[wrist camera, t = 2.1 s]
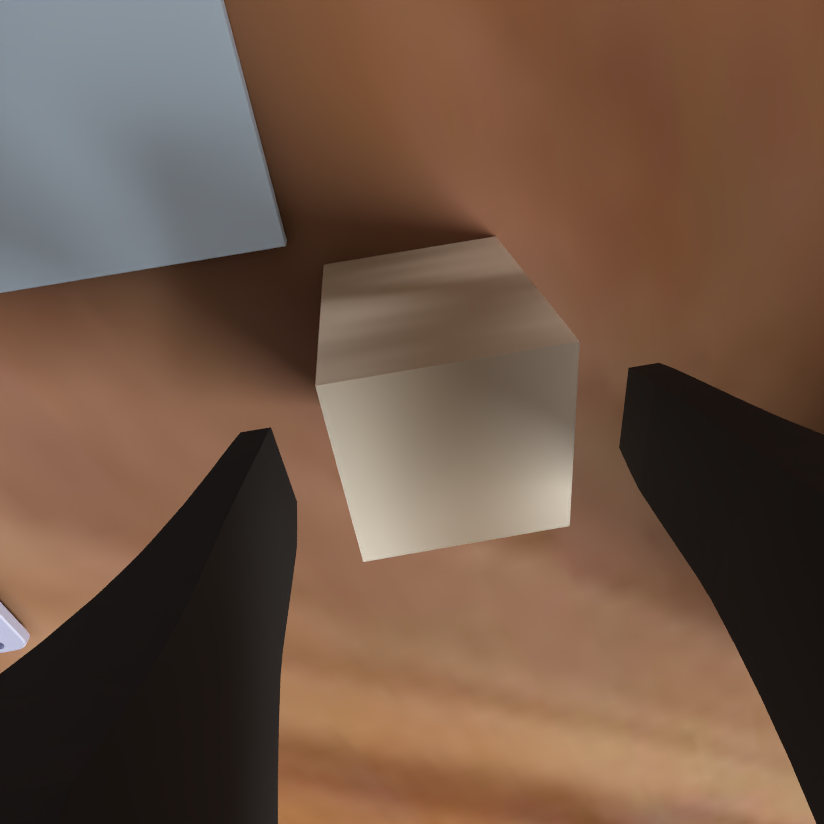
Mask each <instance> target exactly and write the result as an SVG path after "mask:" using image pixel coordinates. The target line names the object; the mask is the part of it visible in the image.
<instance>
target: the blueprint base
mask: <svg viewBox="0 0 824 824" xmlns="http://www.w3.org/2000/svg"><path fill="white" fill-rule="evenodd" d="M286 243H287V239H286V236H285V232H284V228H283V224H282V220H281V217H280V213H279V209H278V205H277V201H276V198H275V194H274V190H273V186H272V182H271V179H270V175H269V171H268V167H267V163H266V159H265V156H264V152H263V148H262V144H261V140H260V137H259V133H258V129H257V125H256V121H255V118H254V114H253V110H252V106H251V102H250V99H249V95H248V91H247V87H246V83H245V80H244V76H243V72H242V68H241V64H240V60H239V57H238V53H237V49H236V45H235V41H234V38H233V34H232V30H231V26H230V22H229V19H228V15H227V11H226V7H225V3H224V0H0V293H3V292H9V291H15V290H21V289H28V288H34V287H40V286H46V285H52V284H58V283H64V282H70V281H76V280H82V279H88V278H95V277H101V276H107V275H113V274H119V273H125V272H131V271H137V270H143V269H149V268H155V267H162V266H168V265H174V264H180V263H186V262H192V261H198V260H204V259H210V258H216V257H222V256H229V255H235V254H241V253H247V252H253V251H259V250H265V249H271V248H277V247H283V246H286Z"/></svg>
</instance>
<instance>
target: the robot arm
mask: <svg viewBox="0 0 824 824" xmlns="http://www.w3.org/2000/svg"><path fill="white" fill-rule="evenodd" d="M619 448H620V450H621V452H622V455H623V457H624V459H625V461H626V463H627V466H628V468H629V470H630V472H631V474H632V476H633V478H634V480H635V482H636V484H637V486H638V488H639V490H640V491H641V493H642V495H643V496H644V498H645V499H646V501H647V502H648V504H649V505H650V507H651V508H652V510H653V511H654V513H655V514H656V516H657V518H658V519H659V521H660V522H661V524H662V525H663V527H664V528H665V529H666V531H667V532H668V534H669V535H670V537H671V538H672V540H673V541H674V543H675V544H676V546H677V547H678V549H679V550H680V552H681V553H682V555H683V556H684V558H685V559H686V561H687V562H688V564H689V565H690V567H691V568H692V570H693V571H694V573H695V574H696V576H697V577H698V579H699V580H700V582H701V584H702V585H703V587H704V589H705V590H706V592H707V594H708V595H709V597H710V598H711V600H712V602H713V604H714V606H715V608H716V610H717V611H718V613H719V615H720V617H721V619H722V621H723V623H724V625H725V627H726V629H727V630H728V632H729V634H730V636H731V638H732V640H733V642H734V644H735V646H736V648H737V650H738V652H739V654H740V656H741V658H742V660H743V662H744V664H745V666H746V668H747V670H748V672H749V674H750V676H751V678H752V680H753V682H754V684H755V686H756V688H757V690H758V692H759V694H760V696H761V698H762V701H763V703H764V705H765V707H766V709H767V711H768V714H769V716H770V718H771V720H772V722H773V725H774V727H775V729H776V731H777V733H778V735H779V738H780V740H781V742H782V744H783V746H784V749H785V751H786V753H787V755H788V757H789V760H790V762H791V764H792V767H793V769H794V771H795V774H796V776H797V778H798V781H799V783H800V786H801V788H802V790H803V793H804V795H805V797H806V800H807V802H808V805H809V807H810V809H811V812H812V814H813V816H814V819H815V821H816V824H824V435H823V434H820V433H818V432H815V431H813V430H810V429H808V428H805V427H803V426H800V425H798V424H795V423H793V422H790V421H788V420H786V419H783V418H781V417H779V416H776V415H774V414H772V413H769V412H767V411H765V410H763V409H760V408H758V407H756V406H754V405H751V404H749V403H747V402H745V401H743V400H741V399H738V398H736V397H734V396H732V395H730V394H728V393H725V392H723V391H721V390H719V389H717V388H715V387H713V386H711V385H708V384H706V383H704V382H702V381H700V380H698V379H696V378H694V377H691V376H689V375H687V374H685V373H683V372H680V371H678V370H676V369H673V368H671V367H669V366H666V365H663V364H661V363H655V364H649V365H643V366H637V367H631V368H629V370H628V378H627V387H626V395H625V404H624V412H623V421H622V429H621V438H620V446H619ZM296 549H297V501H296V498H295V495H294V492H293V489H292V486H291V484H290V481H289V478H288V475H287V472H286V469H285V466H284V464H283V461H282V458H281V455H280V452H279V449H278V446H277V444H276V441H275V438H274V435H273V432H272V429H271V428H265V429H259V430H253V431H247V432H241V433H240V434H239V435H238V436H237V437H236V439H235V440H234V441H233V442H232V444H231V445H230V446H229V447H228V449H227V450H226V451H225V453H224V454H223V455H222V457H221V458H220V459H219V461H218V462H217V463H216V464H215V466H214V467H213V468H212V470H211V471H210V472H209V474H208V475H207V476H206V477H205V479H204V480H203V481H202V482H201V484H200V485H199V486H198V487H197V489H196V490H195V491H194V492H193V494H192V495H191V496H190V497H189V499H188V500H187V501H186V502H185V503H184V505H183V506H182V507H181V508H180V509H179V510H178V512H177V513H176V514H175V515H174V516H173V517H172V518H171V519H170V521H169V522H168V523H167V524H166V525H165V526H164V527H163V529H162V530H161V531H160V532H159V533H158V534H157V535H156V536H155V538H154V539H153V540H152V541H151V542H150V543H149V544H148V545H147V546H146V548H145V549H144V550H143V551H142V552H141V553H140V554H139V555H138V556H137V557H136V558H135V559H134V560H133V561H132V562H131V563H130V564H129V565H128V566H127V567H126V568H125V569H124V570H123V571H122V572H121V573H120V574H119V575H118V576H117V577H115V578H114V579H113V580H112V581H111V582H110V583H109V584H108V585H107V586H106V587H105V588H104V589H103V590H102V591H101V592H100V593H98V594H97V595H96V596H95V597H94V598H93V599H92V600H91V601H89V602H88V603H87V604H86V605H85V606H84V607H82V608H81V609H80V610H79V611H78V612H76V613H75V614H74V615H73V616H72V617H71V618H69V619H68V620H67V621H66V622H65V623H64V624H62V625H61V626H60V627H59V628H58V629H56V630H55V631H54V632H53V633H52V634H51V635H49V636H48V637H47V638H46V639H45V640H43V641H42V642H41V643H40V644H38V645H37V646H36V647H35V648H33V649H32V650H31V651H29V652H28V653H27V654H26V655H24V656H23V657H22V658H20V659H19V660H18V661H16V662H15V663H14V664H13V665H11V666H10V667H9V668H7V669H6V670H5V671H3V672H2V673H1V674H0V824H278V738H279V704H280V676H281V664H282V653H283V645H284V638H285V630H286V623H287V616H288V609H289V602H290V594H291V587H292V580H293V572H294V565H295V557H296ZM29 637H30V635H29V633H28V631H27V630H26V629H25V628H24V627H23V626H22V625H21V624H20V623H19V622H18V621H17V619H16V618H15V617H14V616H13V615H12V614H11V613H10V612H9V611H8V610H7V609H6V608H5V606H4V605H3V604H2V603H1V602H0V653H2V652H8V651H14V650H18V649H21V648H23V647H24V646H25V645H26V643H27V642H28V640H29Z"/></svg>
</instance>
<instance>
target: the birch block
mask: <svg viewBox="0 0 824 824" xmlns="http://www.w3.org/2000/svg"><path fill="white" fill-rule="evenodd" d="M579 343H580V341H579V340H578V339H577V337H576V336H575V335H574V334H573V332H572V331H571V330H570V329H569V327H568V326H567V325H566V324H565V322H564V321H563V320H562V319H561V317H560V316H559V315H558V314H557V312H556V311H555V310H554V309H553V307H552V306H551V305H550V304H549V302H548V301H547V300H546V299H545V297H544V296H543V295H542V294H541V292H540V291H539V290H538V289H537V287H536V286H535V285H534V284H533V282H532V281H531V280H530V279H529V277H528V276H527V275H526V273H525V272H524V271H523V270H522V268H521V267H520V266H519V265H518V263H517V262H516V261H515V260H514V258H513V257H512V256H511V255H510V253H509V252H508V251H507V250H506V248H505V247H504V246H503V245H502V243H501V242H500V241H499V240H498V238H497V237H496V236H494V237H488V238H482V239H476V240H470V241H464V242H458V243H452V244H446V245H440V246H434V247H428V248H421V249H415V250H409V251H403V252H397V253H391V254H385V255H379V256H373V257H367V258H361V259H355V260H348V261H342V262H336V263H330V264H324V266H323V280H322V295H321V310H320V324H319V339H318V353H317V368H316V382H315V387H316V390H317V394H318V398H319V401H320V405H321V409H322V412H323V416H324V420H325V423H326V427H327V431H328V434H329V438H330V442H331V445H332V449H333V453H334V456H335V460H336V464H337V467H338V471H339V474H340V478H341V482H342V485H343V489H344V493H345V496H346V500H347V504H348V507H349V511H350V515H351V518H352V522H353V526H354V529H355V533H356V537H357V540H358V544H359V548H360V551H361V555H362V558H363V562H366V561H371V560H377V559H383V558H389V557H394V556H400V555H406V554H411V553H417V552H423V551H429V550H434V549H440V548H446V547H452V546H457V545H463V544H469V543H474V542H480V541H486V540H492V539H497V538H503V537H509V536H515V535H520V534H526V533H532V532H537V531H543V530H549V529H555V528H560V527H566V526H569V525H570V507H571V488H572V470H573V452H574V434H575V416H576V397H577V379H578V361H579Z"/></svg>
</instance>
